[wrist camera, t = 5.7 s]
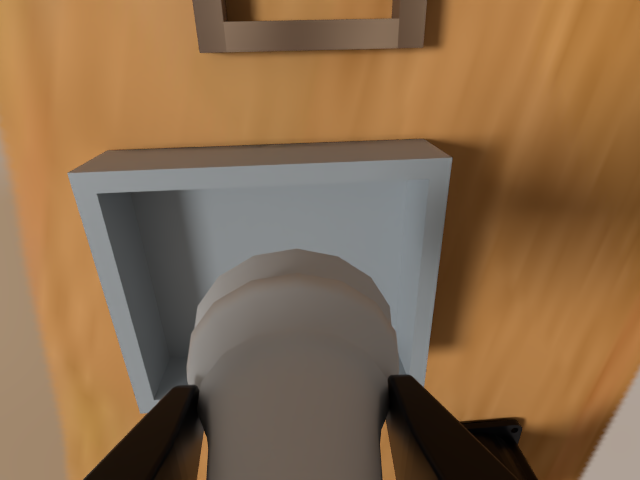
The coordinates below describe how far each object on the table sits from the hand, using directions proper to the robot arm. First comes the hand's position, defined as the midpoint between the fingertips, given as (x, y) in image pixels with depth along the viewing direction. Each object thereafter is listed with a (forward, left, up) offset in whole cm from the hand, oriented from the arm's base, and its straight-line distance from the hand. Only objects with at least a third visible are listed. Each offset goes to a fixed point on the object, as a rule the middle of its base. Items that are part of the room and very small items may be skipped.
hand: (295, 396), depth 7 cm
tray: (+1, +4, -13) cm, 13 cm away
